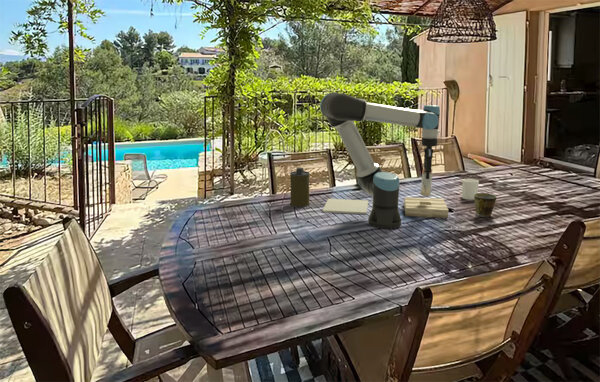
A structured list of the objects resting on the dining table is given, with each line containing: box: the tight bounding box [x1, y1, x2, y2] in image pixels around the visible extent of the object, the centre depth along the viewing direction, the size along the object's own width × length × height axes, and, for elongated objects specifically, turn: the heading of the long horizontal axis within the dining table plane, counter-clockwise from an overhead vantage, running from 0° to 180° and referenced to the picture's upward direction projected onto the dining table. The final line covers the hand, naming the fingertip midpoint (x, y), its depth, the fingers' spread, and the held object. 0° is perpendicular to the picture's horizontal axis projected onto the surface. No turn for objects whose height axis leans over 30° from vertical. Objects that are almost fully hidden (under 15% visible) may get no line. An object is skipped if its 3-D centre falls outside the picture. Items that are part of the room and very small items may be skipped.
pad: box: [322, 198, 369, 215], centre depth 233 cm, size 22×22×1 cm
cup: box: [461, 178, 479, 201], centre depth 249 cm, size 8×12×10 cm
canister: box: [289, 167, 311, 208], centre depth 236 cm, size 11×10×20 cm
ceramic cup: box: [474, 192, 497, 218], centre depth 216 cm, size 13×10×10 cm
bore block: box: [403, 196, 449, 219], centre depth 225 cm, size 20×20×4 cm
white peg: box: [420, 168, 433, 197], centre depth 222 cm, size 5×5×13 cm
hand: (426, 183), depth 222 cm, fingers closed on white peg, 5 cm apart
